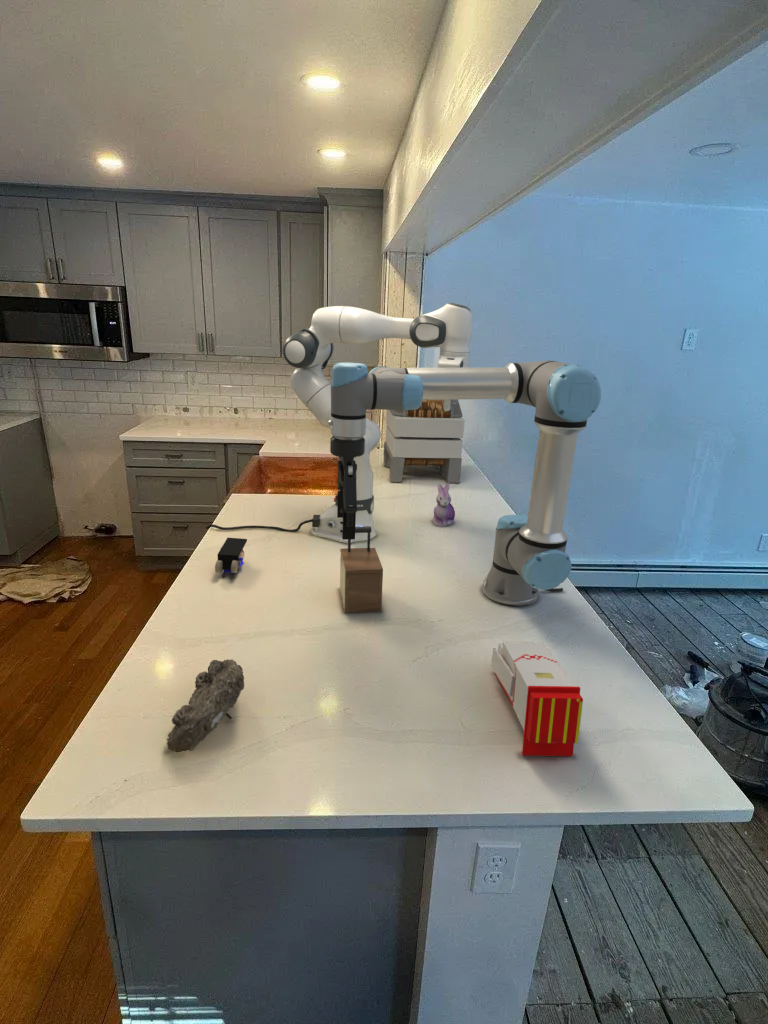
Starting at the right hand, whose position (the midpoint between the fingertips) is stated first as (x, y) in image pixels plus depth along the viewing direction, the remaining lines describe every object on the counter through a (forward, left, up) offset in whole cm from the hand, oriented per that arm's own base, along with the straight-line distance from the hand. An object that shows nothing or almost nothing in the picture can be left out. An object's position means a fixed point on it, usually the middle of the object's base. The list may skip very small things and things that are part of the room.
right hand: (345, 527), depth 130 cm
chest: (-6, -15, -27) cm, 31 cm away
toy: (-34, +33, -27) cm, 54 cm away
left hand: (-36, -47, +20) cm, 63 cm away
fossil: (+28, +29, -27) cm, 48 cm away
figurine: (-44, -71, -27) cm, 88 cm away
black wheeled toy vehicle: (+29, -36, -27) cm, 54 cm away
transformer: (-50, -137, -27) cm, 149 cm away
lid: (-6, -15, -16) cm, 22 cm away
